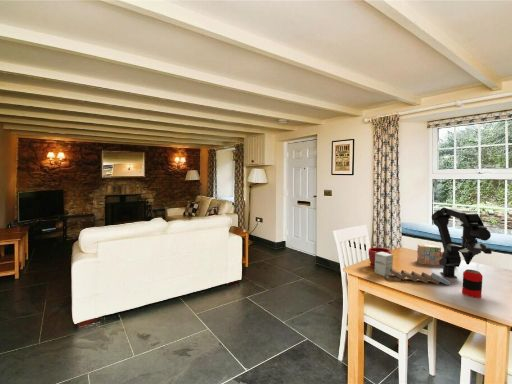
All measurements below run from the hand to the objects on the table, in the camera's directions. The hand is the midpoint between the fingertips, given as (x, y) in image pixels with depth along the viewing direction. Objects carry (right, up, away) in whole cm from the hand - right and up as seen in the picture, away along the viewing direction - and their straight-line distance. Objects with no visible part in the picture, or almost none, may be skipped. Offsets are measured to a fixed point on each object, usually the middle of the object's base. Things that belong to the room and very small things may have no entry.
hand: (467, 264), depth 145 cm
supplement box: (-38, -11, +17) cm, 43 cm away
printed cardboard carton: (+8, -10, +37) cm, 39 cm away
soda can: (-6, -13, -10) cm, 17 cm away
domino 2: (-30, -10, +8) cm, 33 cm away
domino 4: (-19, -11, +5) cm, 22 cm away
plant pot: (-35, -10, +28) cm, 46 cm away
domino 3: (-24, -10, +7) cm, 27 cm away
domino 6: (-9, -11, +3) cm, 14 cm away
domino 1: (-33, -11, +8) cm, 35 cm away
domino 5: (-14, -11, +4) cm, 18 cm away
